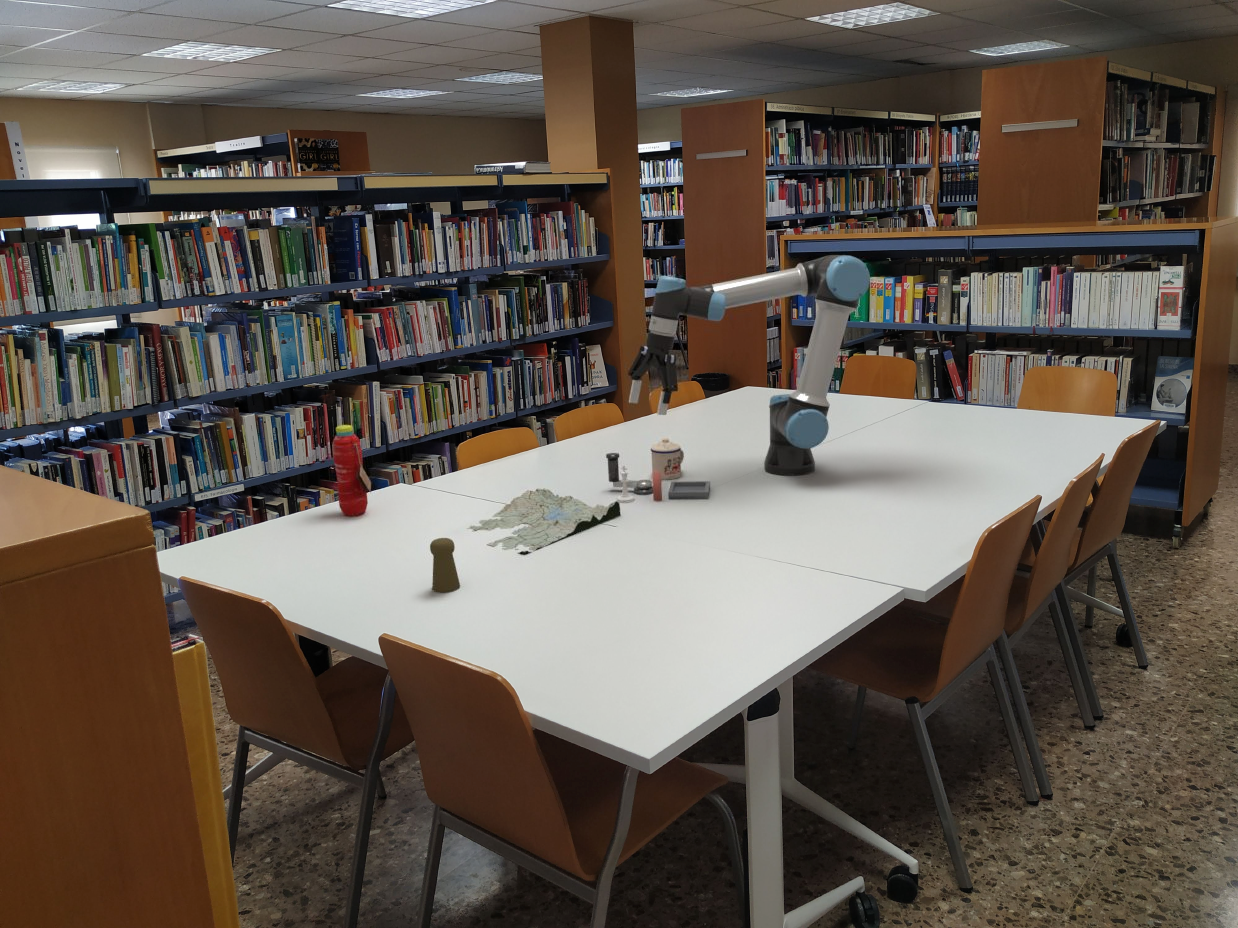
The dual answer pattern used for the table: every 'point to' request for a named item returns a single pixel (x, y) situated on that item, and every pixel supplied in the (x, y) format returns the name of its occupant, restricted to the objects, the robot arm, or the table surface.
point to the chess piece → (625, 488)
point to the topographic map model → (545, 519)
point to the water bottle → (350, 472)
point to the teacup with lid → (667, 459)
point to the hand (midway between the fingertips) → (646, 408)
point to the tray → (689, 490)
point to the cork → (444, 566)
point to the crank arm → (614, 474)
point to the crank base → (643, 491)
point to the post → (657, 486)
